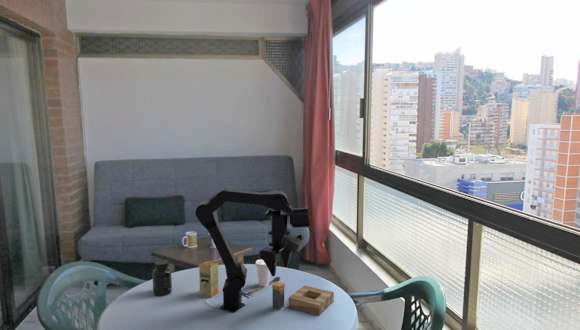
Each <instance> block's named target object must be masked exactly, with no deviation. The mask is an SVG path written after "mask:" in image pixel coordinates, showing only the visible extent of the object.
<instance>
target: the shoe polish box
mask: <svg viewBox="0 0 580 330" xmlns="http://www.w3.org/2000/svg"><path fill="white" fill-rule="evenodd" d="M198 269H199V271H198V273H199V276H198V277H199V296H201V297H203V298H204V297H206V298H210V299H211V298H213V297H214V296H216V295H218V293H219V262H218V261H213V260H205V261H203V262H202V263H199V265H198Z"/></svg>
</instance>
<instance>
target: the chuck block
mask: <svg viewBox="0 0 580 330" xmlns="http://www.w3.org/2000/svg"><path fill="white" fill-rule="evenodd" d="M334 300H335V292H334V291H330V290H326V289H321V288H318V287H313V286H310V285H303V286H301V287H300V288H299V289H298V290H297V291H295V292H294V293H292V294H291V295H289V297H288V308H292V309H295V310H299V311H303V312H305V313H306V312H307V313H310V314H314V315H317V316H320V315H321V314H322V313H324V312H325V311H326V310H327V308H329V306H330V305H332V304H333V303H334Z"/></svg>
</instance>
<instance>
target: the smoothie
mask: <svg viewBox="0 0 580 330" xmlns="http://www.w3.org/2000/svg"><path fill="white" fill-rule="evenodd" d="M255 267H256V272H257V274H256V275H257V281H258V287H260V286H265V287H264V288H267V287H269V286H268V284H269V282H270V277H271V275H270V274H271V273H270V271H269V269H268V267H267V265H266V264H265V262H264V261H263V260H261V259H260V258H259V259H257V260H256V261H255Z"/></svg>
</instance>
